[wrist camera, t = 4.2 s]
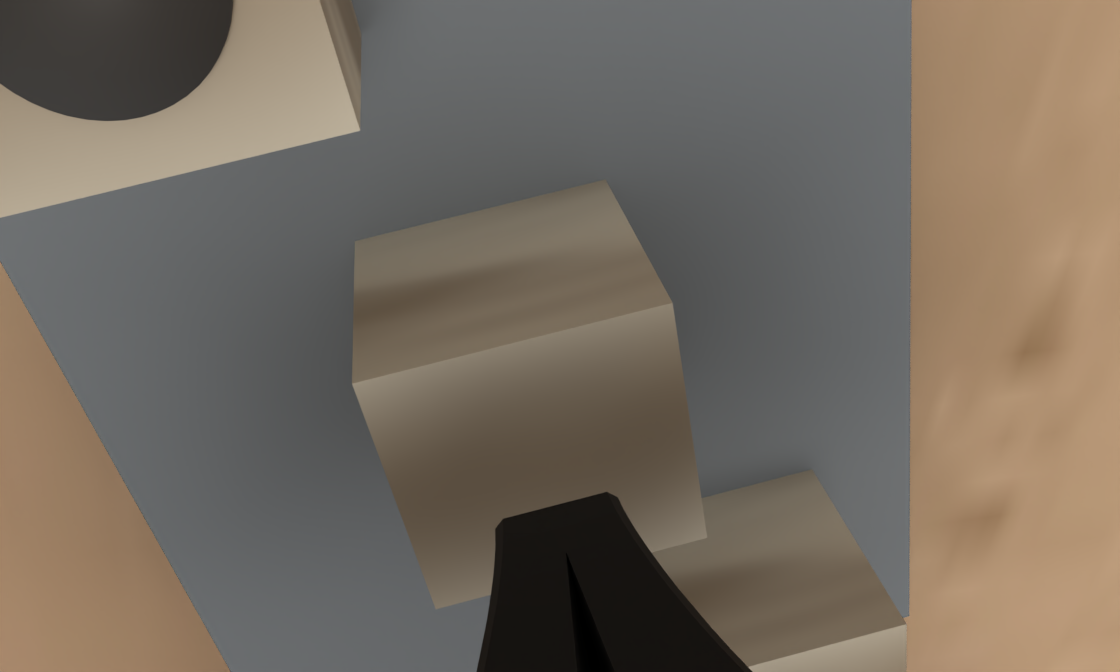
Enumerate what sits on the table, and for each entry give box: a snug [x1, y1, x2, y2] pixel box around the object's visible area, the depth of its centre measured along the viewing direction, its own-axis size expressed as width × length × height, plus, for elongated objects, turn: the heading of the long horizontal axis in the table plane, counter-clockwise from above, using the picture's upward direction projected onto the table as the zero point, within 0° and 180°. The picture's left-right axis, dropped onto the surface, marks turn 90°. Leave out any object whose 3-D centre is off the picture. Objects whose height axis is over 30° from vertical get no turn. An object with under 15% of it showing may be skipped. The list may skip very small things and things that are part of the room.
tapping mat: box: [0, 0, 911, 672], centre depth 17 cm, size 20×14×1 cm
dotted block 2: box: [652, 469, 907, 672], centre depth 19 cm, size 4×4×4 cm
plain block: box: [352, 180, 707, 609], centre depth 15 cm, size 4×4×4 cm
